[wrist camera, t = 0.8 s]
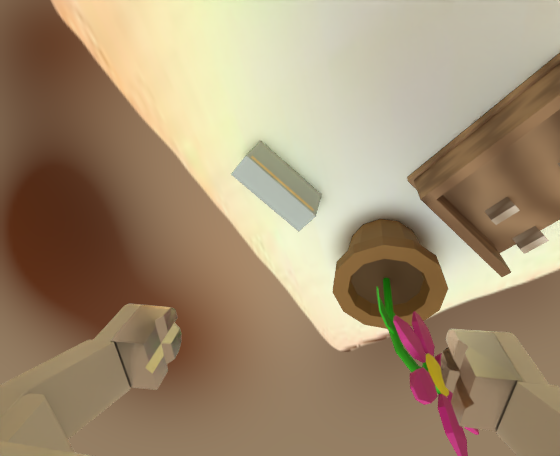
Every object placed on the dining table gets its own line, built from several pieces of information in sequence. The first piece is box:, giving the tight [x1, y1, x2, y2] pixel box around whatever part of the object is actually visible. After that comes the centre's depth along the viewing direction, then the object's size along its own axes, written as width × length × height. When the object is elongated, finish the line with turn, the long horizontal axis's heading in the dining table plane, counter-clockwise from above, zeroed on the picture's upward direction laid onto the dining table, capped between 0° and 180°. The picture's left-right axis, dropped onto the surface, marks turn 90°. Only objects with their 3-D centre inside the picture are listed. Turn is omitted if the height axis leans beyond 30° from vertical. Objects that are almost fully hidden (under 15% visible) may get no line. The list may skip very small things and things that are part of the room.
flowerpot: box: [333, 219, 479, 456], centre depth 37 cm, size 14×14×30 cm
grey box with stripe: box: [231, 141, 321, 231], centre depth 45 cm, size 12×4×7 cm, turn 51°
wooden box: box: [407, 53, 560, 277], centre depth 37 cm, size 20×17×8 cm
